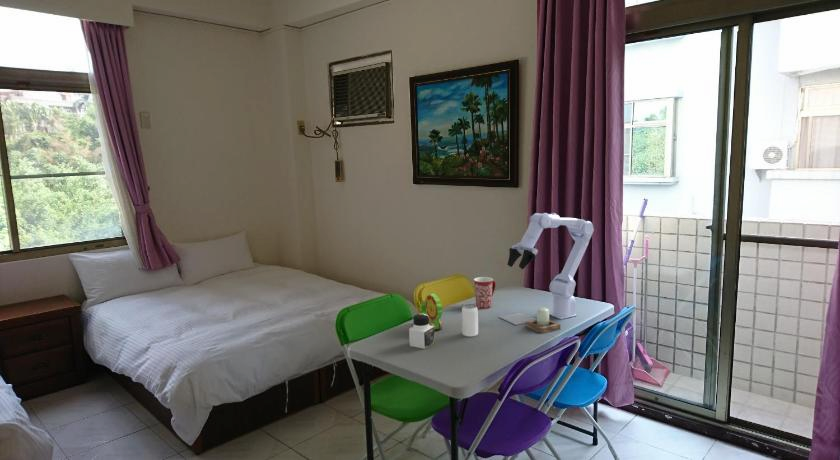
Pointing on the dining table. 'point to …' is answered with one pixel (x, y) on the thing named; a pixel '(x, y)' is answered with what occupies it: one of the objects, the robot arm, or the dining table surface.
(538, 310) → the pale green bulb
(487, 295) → the mug
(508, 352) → the dining table surface
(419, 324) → the medicine bottle
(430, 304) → the toy lion
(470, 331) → the can
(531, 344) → the dining table surface
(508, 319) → the mat
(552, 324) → the frame
